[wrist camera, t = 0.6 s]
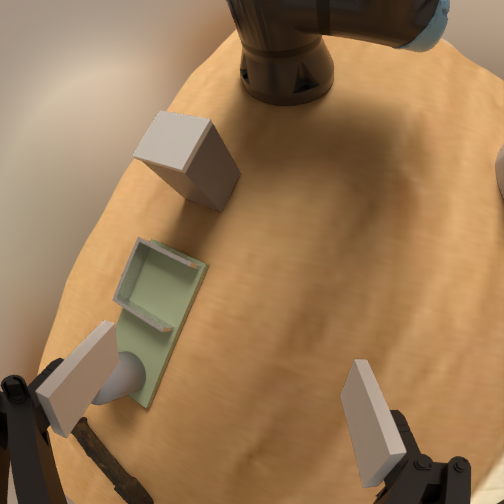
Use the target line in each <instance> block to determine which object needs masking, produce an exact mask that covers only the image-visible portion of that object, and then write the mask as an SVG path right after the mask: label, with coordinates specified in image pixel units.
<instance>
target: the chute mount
mask: <svg viewBox="0 0 504 504" xmlns="http://www.w3.org/2000/svg"><path fill="white" fill-rule="evenodd" d="M150 248H153V249H155V250H157V251H159V252H161V253H163V254H165V255H167V256H169V257H171V258H173V259H175V260H178V261H180V262H182V263H184V264H186V265H188V266H190V267H193V268H196V269H198V270H200V268H201V266H200V265H197V264H195V263H193V262H191V261H189V260H187V259H185V258H182V257H180V256H178V255H176V254H174V253H172V252H170V251H168V250H166V249H164V248H162V247H159V246H157V245H155V244H153V243H151V242H149V241H147V240H144V239H142V238H140V237H138V239H137V241H136V243H135V246H134V248H133V250H132V252H131V255H130V257H129V260H128V262H127V264H126V267H125V269H124V272H123V274H122V277H121V279H120V282H119V284H118V287H117V289H116V292H115V295H114V297H113V301H115V302H116V303H117V304H119V305H120V306H122V307H123V308H125V309H126V310H128V311H130V312H131V313H133V314H134V315H136V316H137V317H139V318H140V319H142V320H143V321H145V322H147V323H148V324H150V325H151V326H153V327H155V328H156V329H158V330H160V331H161V332H166V331H173V330H174V328H175V327H174V326H172V325H170V324H168V323H167V322H165V321H163V320H162V319H160V318H158V317H157V316H155V315H153V314H152V313H150V312H148V311H147V310H145V309H143V308H142V307H140V306H139V305H137V304H135V303H134V302H132V301H131V300H129V299H130V296H131V294H132V291H133V289H134V286H135V284H136V281H137V279H138V276H139V274H140V271H141V269H142V267H143V264H144V262H145V260H146V257H147V255H148V253H149V250H150Z"/></svg>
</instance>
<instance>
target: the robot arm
mask: <svg viewBox="0 0 504 504" xmlns="http://www.w3.org/2000/svg"><path fill="white" fill-rule="evenodd" d="M226 1H227V4H228V6H229V9H230V12H231V15H232V17H233V20H234V23H235V26H236V28H237V31H238V34H239V37H240V40H241V43H242V46H243V47H242V55H241V64H240V75H241V79H242V81H243V84H244V87H245V89H246V90H247V91H248V93H249V94H251V95H252V96H253V97H254V98H256V99H258V100H260V101H262V102H265V103H269V104H273V105H282V106H289V105H298V104H303V103H307V102H310V101H313V100H315V99H317V98H319V97H320V96H322V95H323V94H324V93H326V92H327V91H328V89H329V88H330V87H331V85H332V83H333V80H334V63H333V60H332V57H331V55H330V53H329V51H328V49H327V47H326V45H325V43H324V41H323V39H322V35H328V36H335V37H343V38H349V39H355V40H361V41H366V42H372V43H376V44H381V45H386V46H390V47H392V48H394V49H405V50H410V51H414V52H426V51H428V50H430V49H432V48H433V47H434V46H435V45H436V44H437V43H438V41H439V40H440V38H441V36H442V35H443V33H444V30H445V28H446V25H447V21H448V18H447V13H448V12H449V7H450V1H449V0H226ZM119 362H120V361H119V354H118V346H117V338H116V329H115V323H112V322H108V321H104V320H103V321H102V322H101V323H100V324H99V325H98V326H97V327H96V328H95V329H94V330H93V331H92V332H91V333H90V334H89V335H88V336H87V337H86V338H85V339H84V340H83V341H82V342H81V343H80V344H79V345H78V346H77V347H76V348H75V349H74V351H73V352H72V353H71V354H70V355H69V356H68V357H67V358H66V359H65V360H64V359H62V358H58V359H56V360H54V361H52V362H51V363H50V364H49V365H48V366H47V367H46V369H44V370H43V371H42V372H41V373H40V374H39V375H38V376H37V377H36V378H35V379H34V380H33V381H32V383H31V384H29V386H28V387H27V385H26V382H25V380H24V379H23V378H22V377H21V376H18V375H10V376H8V377H6V378H4V380H3V381H2V382H1V387H2V390H3V392H1V391H0V504H7V494H8V478H9V468H10V460H11V466H12V474H13V479H14V485H15V490H16V495H17V500H18V504H67V501H66V498H65V495H64V492H63V489H62V485H61V482H60V479H59V475H58V472H57V468H56V464H55V460H54V456H53V452H52V447H51V443H50V438H49V433H48V431H47V428H48V427H49V426H50V425H51V427H52V429H53V431H54V432H55V433H57V434H59V435H61V436H63V437H65V438H67V437H68V436H69V434H70V433H71V431H72V430H73V428H74V427H75V425H76V424H77V422H78V421H79V419H80V418H81V416H82V415H83V413H84V412H85V410H86V409H87V408H88V406H89V405H90V403H91V402H92V400H93V399H94V397H95V396H96V395H97V393H98V392H99V390H100V389H101V387H102V386H103V385H104V383H105V382H106V380H107V379H108V378H109V376H110V375H111V373H112V372H113V371H114V369H115V368H116V366H117V365H118V364H119ZM340 398H341V401H342V405H343V409H344V413H345V416H346V420H347V424H348V428H349V432H350V436H351V440H352V444H353V448H354V452H355V456H356V460H357V465H358V469H359V473H360V478H361V482H362V487H363V488H367V487H374V486H378V485H379V484H380V483H381V482H382V481H383V480H384V482H385V485H386V486H385V487H384V488H383V489H382V490H381V491H380V492H379V493H378V494H377V495H376V497H377V499H376V500H375V502H374V503H373V504H470V497H471V466H470V463H469V462H468V460H467V459H465V458H464V457H460V456H456V457H454V458H452V459H451V460H450V461H449V462H448V463H438V462H433V461H432V459H431V458H430V457H429V456H427V455H425V454H421V453H420V450H419V448H418V446H417V443H416V441H415V439H414V437H413V434H412V432H410V428H409V426H408V423H407V421H406V419H405V417H404V415H403V414H402V413H401V412H400V411H399V410H389V408H388V406H387V403H386V401H385V399H384V396H383V394H382V392H381V390H380V387H379V385H378V383H377V381H376V378H375V376H374V374H373V372H372V370H371V367H370V365H369V363H368V361H367V360H364V359H354V361H353V364H352V367H351V369H350V372H349V374H348V377H347V380H346V382H345V385H344V387H343V389H342V392H341V394H340Z"/></svg>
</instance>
